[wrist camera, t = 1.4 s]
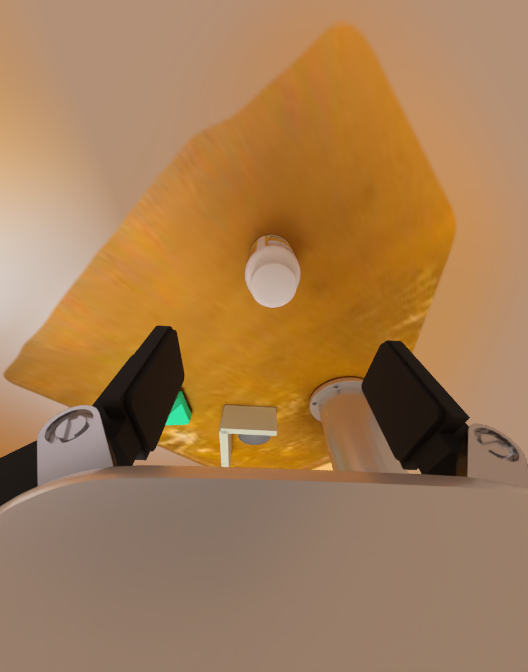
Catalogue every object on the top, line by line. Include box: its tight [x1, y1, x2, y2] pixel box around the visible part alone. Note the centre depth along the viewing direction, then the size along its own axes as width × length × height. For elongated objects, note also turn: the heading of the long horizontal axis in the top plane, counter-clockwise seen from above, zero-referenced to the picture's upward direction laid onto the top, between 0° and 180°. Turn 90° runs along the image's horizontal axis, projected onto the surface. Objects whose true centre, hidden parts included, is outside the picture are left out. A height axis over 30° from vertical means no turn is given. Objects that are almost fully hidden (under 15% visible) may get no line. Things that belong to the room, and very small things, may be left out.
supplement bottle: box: [245, 235, 301, 308], centre depth 22 cm, size 5×5×10 cm
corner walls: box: [219, 405, 277, 467], centre depth 44 cm, size 10×17×5 cm, turn 175°
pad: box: [238, 434, 270, 445], centre depth 47 cm, size 7×7×1 cm
